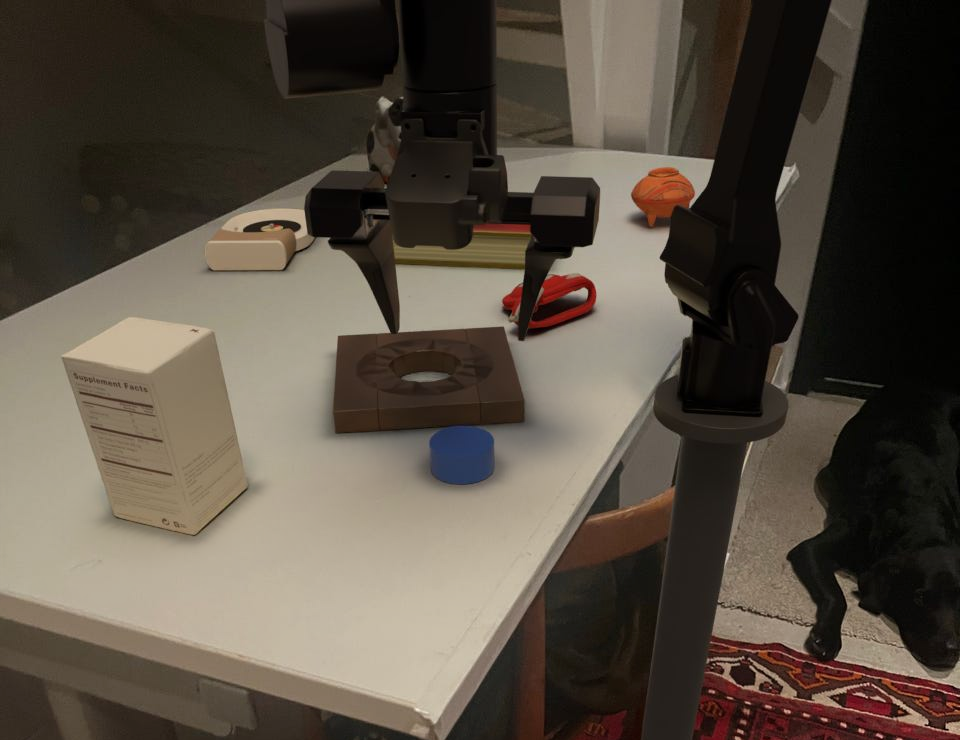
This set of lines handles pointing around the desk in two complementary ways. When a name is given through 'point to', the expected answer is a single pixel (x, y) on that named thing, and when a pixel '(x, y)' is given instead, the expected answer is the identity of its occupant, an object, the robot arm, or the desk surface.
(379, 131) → the lucky cat figurine
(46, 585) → the desk surface
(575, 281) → the red belt with buckle
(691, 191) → the orange footed clay pot
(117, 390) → the white packaging box
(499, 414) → the token holder
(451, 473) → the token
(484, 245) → the hardcover book
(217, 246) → the record player
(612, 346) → the desk surface
